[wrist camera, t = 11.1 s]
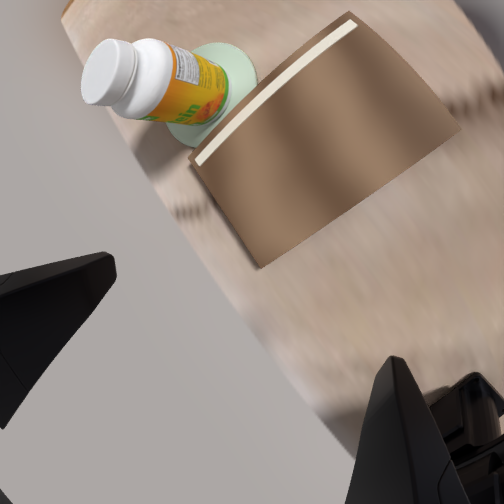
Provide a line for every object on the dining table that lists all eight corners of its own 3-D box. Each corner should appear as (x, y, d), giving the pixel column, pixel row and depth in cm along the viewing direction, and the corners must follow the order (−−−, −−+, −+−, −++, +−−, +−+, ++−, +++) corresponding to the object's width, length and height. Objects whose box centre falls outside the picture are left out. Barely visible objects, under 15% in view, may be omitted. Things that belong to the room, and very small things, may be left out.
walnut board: (352, 19, 13) (348, 9, 12) (457, 132, 12) (462, 129, 11) (197, 157, 22) (186, 157, 20) (268, 263, 21) (260, 269, 20)
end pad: (279, 64, 16) (277, 62, 16) (221, 168, 21) (218, 168, 20) (195, 34, 19) (192, 33, 18) (153, 121, 23) (149, 121, 23)
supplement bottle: (183, 135, 21) (76, 132, 13) (175, 79, 20) (75, 59, 12) (240, 114, 18) (128, 89, 10) (228, 53, 17) (126, 9, 9)
